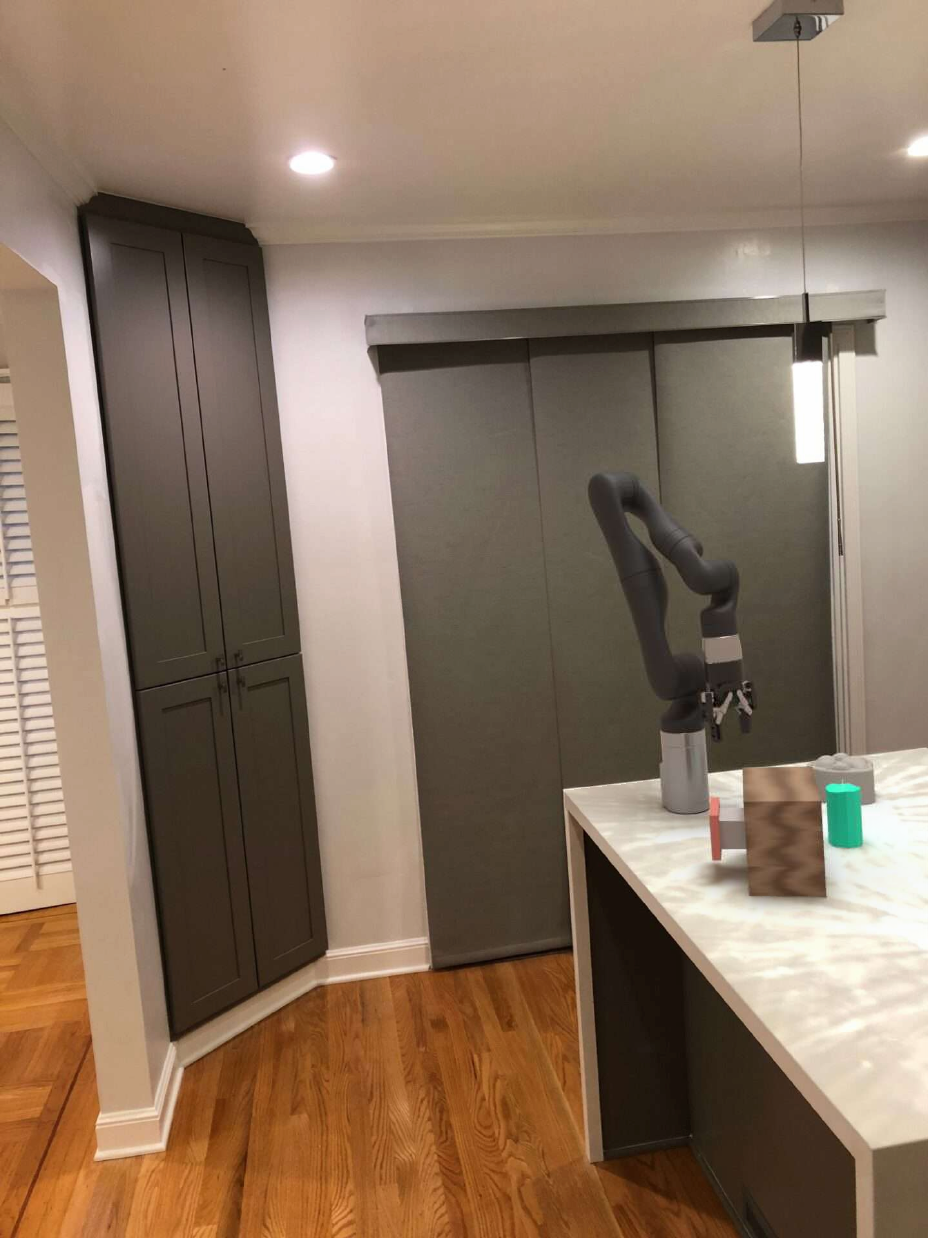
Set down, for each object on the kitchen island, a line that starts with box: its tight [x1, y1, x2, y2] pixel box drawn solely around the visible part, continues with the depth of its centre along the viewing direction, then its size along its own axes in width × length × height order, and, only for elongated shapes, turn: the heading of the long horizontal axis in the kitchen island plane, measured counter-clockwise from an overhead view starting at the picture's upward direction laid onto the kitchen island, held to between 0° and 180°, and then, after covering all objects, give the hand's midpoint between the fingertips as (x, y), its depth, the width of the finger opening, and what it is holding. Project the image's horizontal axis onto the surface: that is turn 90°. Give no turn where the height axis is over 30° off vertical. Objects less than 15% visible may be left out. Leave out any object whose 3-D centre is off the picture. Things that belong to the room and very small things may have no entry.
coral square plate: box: [708, 796, 746, 862], centre depth 168 cm, size 10×10×8 cm
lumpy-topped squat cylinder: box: [806, 752, 876, 806], centre depth 203 cm, size 10×13×9 cm
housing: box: [742, 765, 827, 898], centre depth 166 cm, size 12×20×16 cm, turn 164°
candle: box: [826, 779, 864, 849], centre depth 177 cm, size 6×6×12 cm
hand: (732, 737), depth 193 cm, fingers open, 8 cm apart
